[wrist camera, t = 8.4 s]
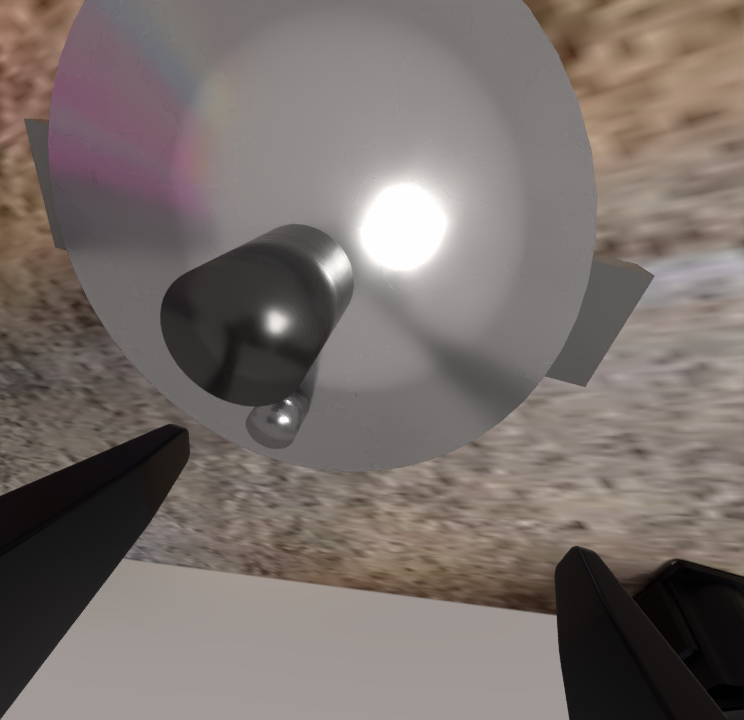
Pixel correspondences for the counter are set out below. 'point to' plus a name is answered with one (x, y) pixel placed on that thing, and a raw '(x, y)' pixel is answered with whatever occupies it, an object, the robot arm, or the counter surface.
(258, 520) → the counter surface
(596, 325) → the cooker pot
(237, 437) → the cooker lid
